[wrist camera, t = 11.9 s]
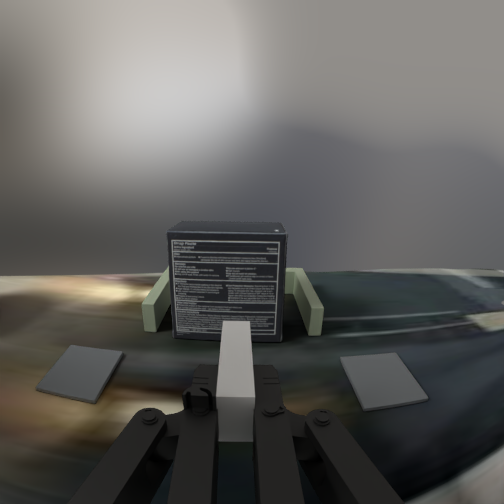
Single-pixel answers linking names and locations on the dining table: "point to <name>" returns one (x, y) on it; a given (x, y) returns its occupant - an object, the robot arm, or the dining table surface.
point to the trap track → (296, 282)
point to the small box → (227, 278)
